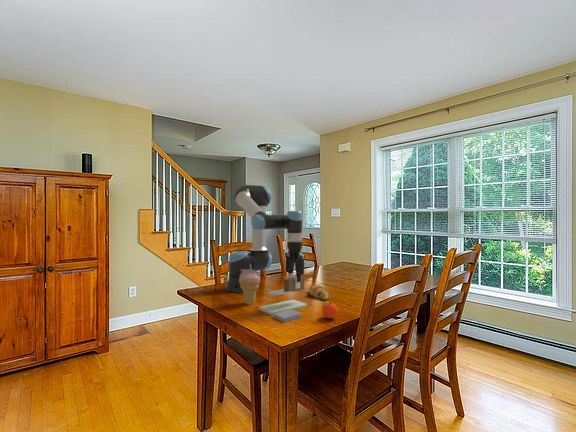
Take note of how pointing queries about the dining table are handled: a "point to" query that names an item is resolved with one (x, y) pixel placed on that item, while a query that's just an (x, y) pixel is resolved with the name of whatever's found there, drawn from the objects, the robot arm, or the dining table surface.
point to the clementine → (329, 310)
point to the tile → (287, 315)
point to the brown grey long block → (288, 287)
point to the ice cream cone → (249, 284)
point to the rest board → (283, 306)
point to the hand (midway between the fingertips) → (294, 287)
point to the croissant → (319, 292)
